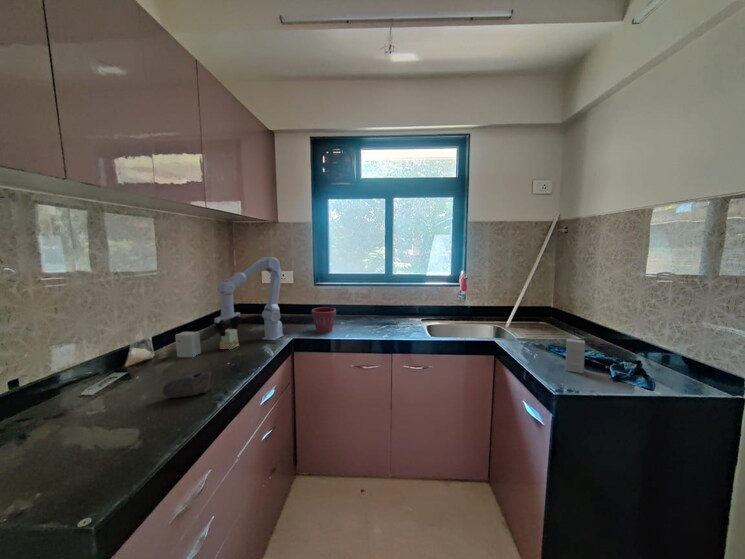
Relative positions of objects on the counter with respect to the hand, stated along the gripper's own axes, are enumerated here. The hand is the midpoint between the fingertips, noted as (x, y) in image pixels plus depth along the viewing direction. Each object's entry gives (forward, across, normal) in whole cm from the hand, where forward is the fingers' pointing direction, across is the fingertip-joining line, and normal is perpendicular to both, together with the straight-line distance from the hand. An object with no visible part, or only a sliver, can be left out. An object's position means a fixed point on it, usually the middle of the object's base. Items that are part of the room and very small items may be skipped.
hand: (228, 333), depth 148 cm
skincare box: (+7, -17, +152) cm, 153 cm away
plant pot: (+7, -41, +31) cm, 52 cm away
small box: (+7, +14, -10) cm, 19 cm away
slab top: (+5, 0, 0) cm, 5 cm away
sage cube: (+3, 0, 0) cm, 3 cm away
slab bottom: (+8, 0, 0) cm, 8 cm away
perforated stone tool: (+8, +43, +24) cm, 50 cm away
